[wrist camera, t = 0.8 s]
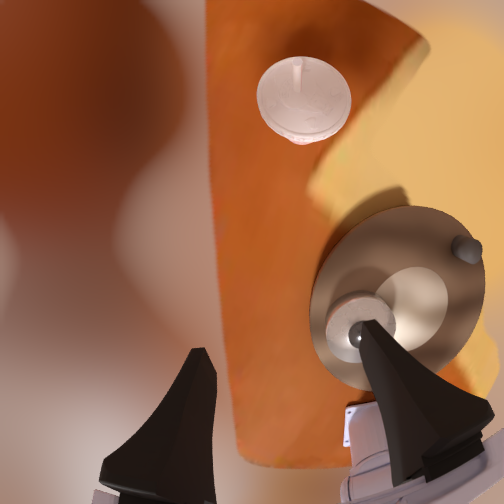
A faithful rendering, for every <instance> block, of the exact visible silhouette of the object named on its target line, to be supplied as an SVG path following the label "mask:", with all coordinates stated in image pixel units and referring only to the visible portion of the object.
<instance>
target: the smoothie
mask: <svg viewBox="0 0 504 504" xmlns="http://www.w3.org/2000/svg"><path fill="white" fill-rule="evenodd" d="M257 102H258V107H259V110H260V113H261V115H262V117H263V119H264V120H265V122H266V123H267V124H268V126H269V127H270V128H272V129H273V130H274V131H275V132H276V133H278V134H279V135H281V136H284V137H286V138H288V139H289V140H290V141H291V142H293V143H295V144H299V145H306V144H309V143H311V142H315V141H319V140H323V139H326V138H328V137H330V136H331V135H333V134H335V133H336V132H337V131H338V130H339V129H340V128H341V127H342V126H343V125H344V123H345V121H346V119H347V117H348V115H349V112H350V108H351V93H350V90H349V87H348V84H347V82H346V81H345V79H344V78H343V76H342V75H341V74H340V73H339V72H338V71H337V70H336V69H335V68H334V67H332V66H331V65H329V64H328V63H326V62H324V61H322V60H319V59H316V58H312V57H304V56H298V57H290V58H286V59H283V60H281V61H279V62H277V63H275V64H274V65H272V66H271V67H270V68H269V69H268V70H267V71H266V72H265V73H264V74H263V76H262V78H261V79H260V82H259V84H258V88H257Z"/></svg>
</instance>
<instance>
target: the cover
mask: <svg viewBox="0 0 504 504" xmlns="http://www.w3.org/2000/svg"><path fill="white" fill-rule="evenodd" d="M372 319H376V320H377V321H378V322H379V323H380V324H381V325H382V327H383V328H384V329H385V330H386V331H387V332H388V333H389V334H390V335H391V336H392V337H393V338H394V335H395V332H396V320H395V317H394V314H393V312H392V311H391V309H390V308H389V307H388V305H387V304H386V302H385V301H384V300H383V299H382V298H381V297H380V296H379V295H378V294H376V293H374V292H371V291H366V290H358V291H353V292H350V293H347V294H345V295H343V296H341V297H340V298H339V299H337V300H336V301H335V302H334V303H333V304H332V306H331V307H330V309H329V310H328V312H327V315H326V318H325V333H326V339H327V344H328V347H329V349H330V351H331V352H332V353H333V354H334V355H335V356H336V357H337V358H339V359H340V360H343V361H345V362H350V363H361V362H362V361H361V357H360V353H359V345H360V338H361V330H362V322H364V321H368V320H372Z"/></svg>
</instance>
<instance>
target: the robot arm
mask: <svg viewBox="0 0 504 504" xmlns="http://www.w3.org/2000/svg"><path fill="white" fill-rule="evenodd" d="M359 353H360V357H361V361H362V364H363V368H364V371H365V373H366V376H367V378H368V381H369V383H370V386H371V388H372V391H373V393H374V396H375V399H376V401H375V402H370V403H365V404H359V405H353V406H348V407H346V411H345V428H344V441H343V445H344V446H345V447H347V446H350V449H351V457H352V466H353V468H351V469H350V476H348V477H345V478H344V480H343V482H342V484H341V488H340V494H341V502H342V503H339V504H469V503H470V502H471V501H473V500H474V499H476V498H477V497H479V496H480V495H481V494H482V493H484V492H485V491H487V490H488V489H489V488H491V487H492V486H493V485H494V484H496V483H497V482H498V481H500V480H501V479H502V478H503V477H504V428H502V429H501V430H499V431H498V432H497V433H495V434H494V435H492V436H491V437H489V438H488V439H486V440H485V441H484V442H481V439H480V438H482V436H483V435H482V432H481V430H482V429H483V428H484V427H485V426H487V424H488V423H490V422H491V420H493V418H494V416H495V414H494V412H493V410H492V408H491V406H490V404H489V402H488V401H487V400H485V399H483V398H480V397H477V396H475V395H472V394H470V393H468V392H466V391H463V390H461V389H459V388H458V387H456V386H454V385H452V384H451V383H449V382H447V381H445V380H444V379H442V378H441V377H439V376H438V375H436V374H435V373H433V372H432V371H431V370H429V369H428V368H426V367H425V366H424V365H423V364H421V363H420V362H419V361H418V360H417V359H415V358H414V357H413V356H412V355H411V354H410V353H409V352H408V351H407V350H405V349H404V348H403V347H402V346H401V345H400V344H399V343H398V342H397V341H396V340H395V339H394V338H393V337H392V336H391V335H390V334H389V333H388V332H387V331H386V330H385V329H384V328H383V327H382V325H381V324H380V323H379V322H378V321H377V320H376V319H372V320H368V321H364V322H362V330H361V338H360V345H359ZM216 397H217V373H216V370H215V369H214V367H213V364H212V362H211V360H210V358H209V356H208V354H207V352H206V349H205V348H192V349H191V351H190V352H189V355H188V357H187V358H186V361H185V363H184V364H183V366H182V368H181V370H180V372H179V373H178V375H177V377H176V379H175V380H174V382H173V384H172V386H171V387H170V389H169V391H168V392H167V394H166V395H165V397H164V398H163V400H162V401H161V403H160V404H159V406H158V407H157V408H156V410H155V411H154V412H153V414H152V415H151V416H150V417H149V419H148V420H147V421H146V422H145V423H144V424H143V425H142V427H141V428H140V429H139V430H138V431H137V432H136V433H135V434H134V435H133V436H132V437H131V438H130V439H129V440H127V441H126V442H125V443H124V444H123V445H122V446H121V447H120V448H118V449H117V450H116V451H114V452H113V453H112V454H110V455H109V456H107V457H106V458H105V459H104V461H103V463H102V467H101V472H100V477H99V482H100V483H101V484H103V485H105V486H107V487H109V488H111V489H113V490H116V491H118V492H120V496H119V497H118V496H116V495H112V494H109V493H106V492H103V491H100V490H97V489H95V490H94V494H93V500H92V504H217V502H216V494H215V486H214V475H213V456H212V433H213V423H214V414H215V406H216ZM349 411H350V412H349Z"/></svg>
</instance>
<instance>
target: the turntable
mask: <svg viewBox="0 0 504 504" xmlns="http://www.w3.org/2000/svg"><path fill="white" fill-rule="evenodd" d="M481 255H482V245H481V243H480V242H479V241H478V240H475V239H474V238H473V237H472V235H471V234H470V233H469V231H468V230H467V229H466V228H465V227H464V226H463V225H462V224H461V223H460V222H459V221H458V220H456V219H455V218H454V217H452V216H450V215H448V214H446V213H444V212H442V211H439V210H436V209H433V208H428V207H420V206H400V207H395V208H390V209H387V210H384V211H381V212H378V213H376V214H374V215H372V216H370V217H368V218H366V219H365V220H363V221H362V222H360V223H359V224H357V225H356V226H355V227H353V228H352V229H351V230H350V231H349V232H348V233H347V234H345V235H344V236H343V237H342V238H341V240H340V241H339V242H338V243H337V244H336V245H335V246H334V248H333V249H332V250H331V252H330V253H329V255H328V256H327V258H326V259H325V261H324V263H323V265H322V267H321V269H320V271H319V273H318V275H317V278H316V281H315V283H314V286H313V291H312V295H311V300H310V309H309V316H310V331H311V336H312V341H313V344H314V347H315V350H316V353H317V355H318V356H319V358H320V360H321V362H322V363H323V364H324V366H325V367H326V369H327V370H328V371H329V372H330V373H331V374H332V375H333V376H335V377H336V378H337V379H339V380H340V381H342V382H343V383H345V384H347V385H349V386H352V387H354V388H357V389H361V390H366V391H372V388H371V386H370V383H369V381H368V378H367V376H366V373H365V371H364V368H363V364H362V362H361V363H350V362H345V361H343V360H340V359H339V358H337V357H336V356H335V355H334V354H333V353H332V352H331V351H330V349H329V347H328V344H327V339H326V333H325V318H326V315H327V312H328V310H329V309H330V307H331V306H332V304H333V303H334V302H335V301H336V300H337V299H339V298H340V297H341V296H343V295H345V294H347V293H350V292H353V291H358V290H366V291H371V292H374V293H376V294H378V295H379V296H380V297H381V298H382V299H383V300H384V301H385V302H386V304H387V305H388V307H389V308H390V309H391V311H392V312H393V314H394V317H395V320H396V332H395V335H394V339H395V340H396V341H397V342H398V343H399V344H400V345H401V346H402V347H403V348H404V349H405V350H407V351H408V352H409V353H410V354H411V355H412V356H413V357H414V358H415V359H417V360H418V361H419V362H420V363H421V364H423V365H424V366H425V367H426V368H428V369H429V370H431V371H432V372H433V373H435V374H436V373H437V372H439V371H440V370H441V369H443V368H444V367H445V366H446V365H447V364H448V363H449V362H450V361H451V360H452V359H453V358H454V357H455V356H456V355H457V354H458V353H459V352H460V350H461V349H462V348H463V347H464V345H465V344H466V342H467V341H468V339H469V337H470V336H471V334H472V332H473V330H474V328H475V326H476V324H477V321H478V319H479V316H480V313H481V309H482V305H483V300H484V294H485V270H484V265H483V260H482V257H481Z"/></svg>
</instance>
